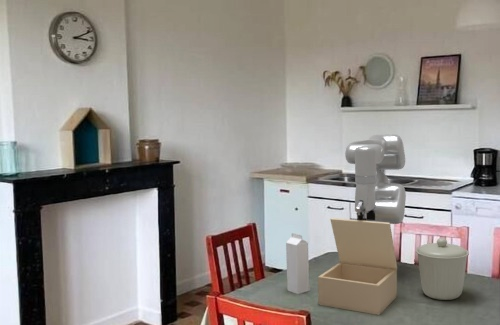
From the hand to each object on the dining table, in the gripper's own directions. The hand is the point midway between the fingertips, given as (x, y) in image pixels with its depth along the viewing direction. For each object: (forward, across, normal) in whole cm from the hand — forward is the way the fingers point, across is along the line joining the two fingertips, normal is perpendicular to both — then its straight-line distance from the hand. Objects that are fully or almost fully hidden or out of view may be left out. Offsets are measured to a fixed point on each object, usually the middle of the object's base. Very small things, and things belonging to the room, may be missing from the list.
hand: (366, 226), depth 202 cm
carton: (+25, +10, 0) cm, 27 cm away
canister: (+25, -8, +25) cm, 37 cm away
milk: (+25, +10, -24) cm, 36 cm away
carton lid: (+6, +4, 0) cm, 7 cm away
